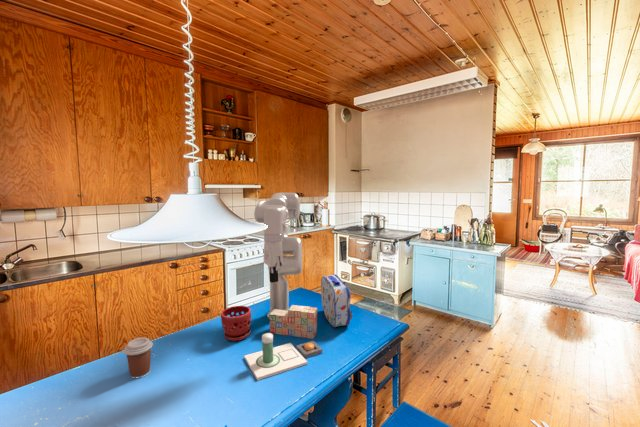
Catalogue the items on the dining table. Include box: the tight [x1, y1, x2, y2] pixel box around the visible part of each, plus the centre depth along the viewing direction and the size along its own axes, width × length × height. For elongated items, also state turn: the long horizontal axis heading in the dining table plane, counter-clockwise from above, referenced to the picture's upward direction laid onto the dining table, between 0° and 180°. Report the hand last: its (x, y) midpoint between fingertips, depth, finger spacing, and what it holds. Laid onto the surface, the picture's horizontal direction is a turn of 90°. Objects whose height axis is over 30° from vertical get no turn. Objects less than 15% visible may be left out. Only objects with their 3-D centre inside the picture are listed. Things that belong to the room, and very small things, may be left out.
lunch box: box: [320, 274, 353, 328], centre depth 158 cm, size 28×10×22 cm, turn 15°
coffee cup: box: [123, 336, 154, 378], centre depth 113 cm, size 9×9×12 cm
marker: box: [261, 332, 274, 363], centre depth 120 cm, size 4×4×10 cm
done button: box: [304, 342, 315, 352], centre depth 129 cm, size 4×4×2 cm
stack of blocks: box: [268, 304, 318, 340], centre depth 144 cm, size 21×6×12 cm, turn 77°
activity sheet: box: [243, 342, 308, 381], centre depth 122 cm, size 16×20×1 cm
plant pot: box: [220, 305, 252, 342], centre depth 141 cm, size 13×13×12 cm
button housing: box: [295, 340, 323, 359], centre depth 129 cm, size 8×8×2 cm
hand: (273, 281), depth 128 cm, fingers closed
